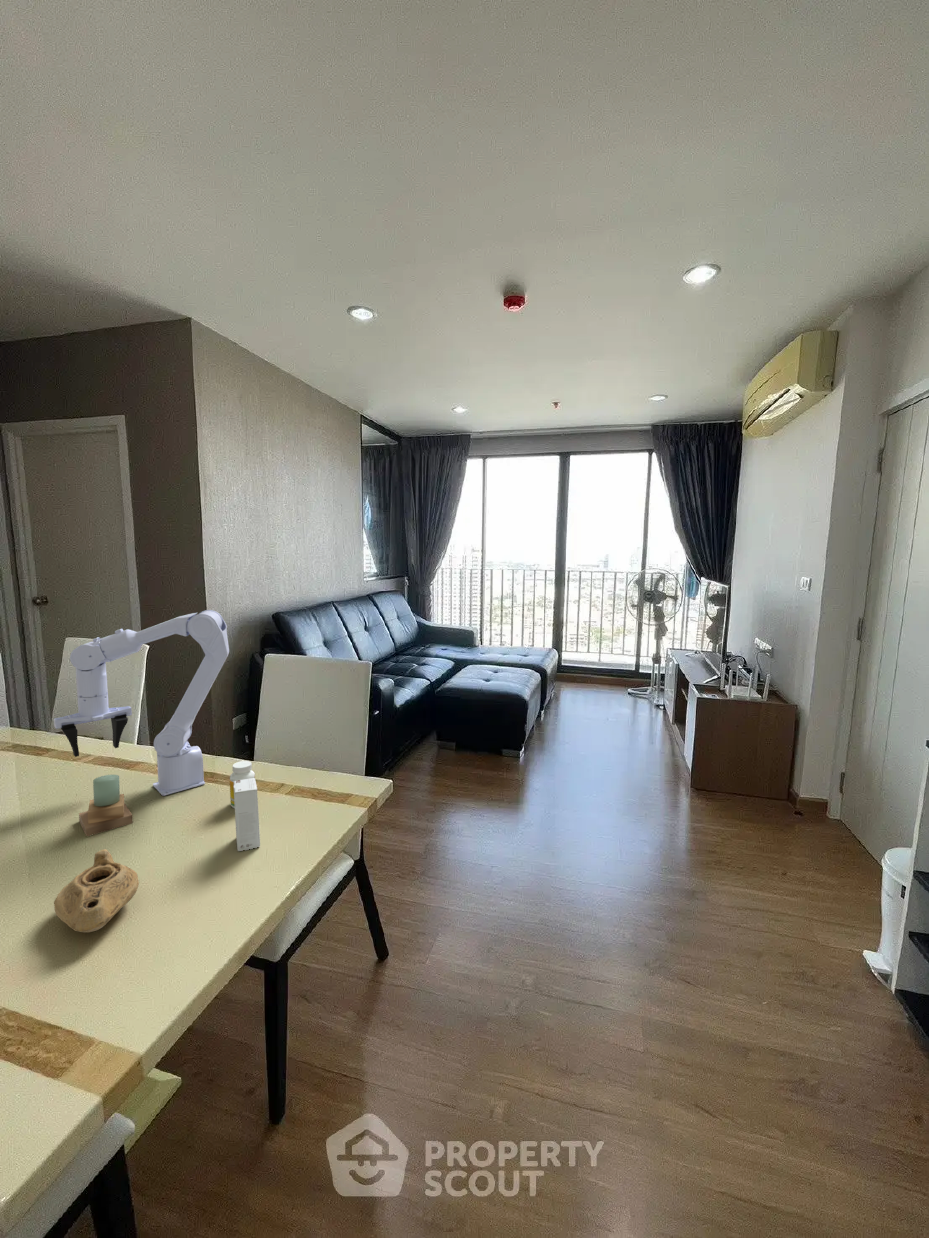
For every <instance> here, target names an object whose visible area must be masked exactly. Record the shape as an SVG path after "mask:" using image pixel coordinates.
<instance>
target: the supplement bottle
mask: <svg viewBox="0 0 929 1238" xmlns="http://www.w3.org/2000/svg"><path fill="white" fill-rule="evenodd" d="M252 768H253V765H252V762H251V761H249V760H242V761H241V760H240V761H237V762H235V763H233V764H232V773H231V774H230V775H229V796H230V798H229V799H230V806H231V807H232V808H233V809H235V805H234V781H238V780H243V779H249V778H255V779H256V773H255V772H254V771H253V769H252Z"/></svg>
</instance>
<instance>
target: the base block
mask: <svg viewBox="0 0 929 1238" xmlns="http://www.w3.org/2000/svg"><path fill="white" fill-rule="evenodd" d="M78 817H79V818H78V819H79V820H78V821H79V824H80V826H81V828H82V830H83V832H84V835H85V834H86V835H85V837H86V836H88V837H91V836H95V835H98V834H101V833H104V832H108V831H111V830H115V829H117V828H118V829H119V828H121V827H123V826H128V825H131V824H133V822H134V821H133V820H134V819H133V814H132V812H131V811H130V809H129V807H128V806H127V804H126V803H125V802H124V817H120V818H115V819H110V820H105V821H101V822H96V823H91V824H88V810H86V811H83V812H79V813H78ZM92 834H93V835H92ZM90 835H91V836H90Z"/></svg>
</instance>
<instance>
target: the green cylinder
mask: <svg viewBox="0 0 929 1238" xmlns="http://www.w3.org/2000/svg"><path fill="white" fill-rule="evenodd" d="M92 783H93V784H92V785H93V786H92V788H93V799H94V805H95V806H108V805H112V804H115V803H117V802H118V801H119V800H120V788H121V787H120V775H118V774H105V775H100V776H98V777H96V778H94V779H93V781H92Z"/></svg>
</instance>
